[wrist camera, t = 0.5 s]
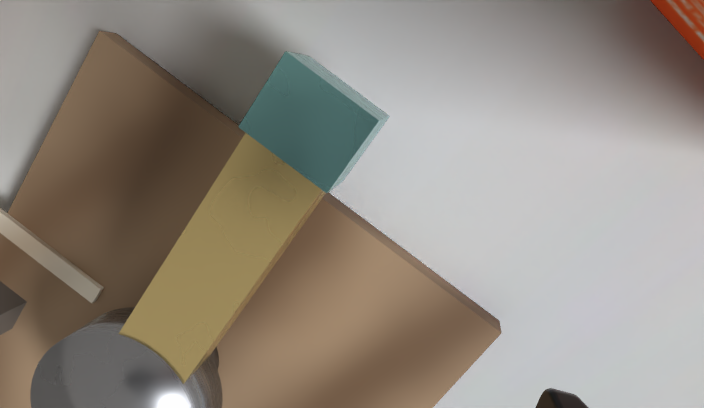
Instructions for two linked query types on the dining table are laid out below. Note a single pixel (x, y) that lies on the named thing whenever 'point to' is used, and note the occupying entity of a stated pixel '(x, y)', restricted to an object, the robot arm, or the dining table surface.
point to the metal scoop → (218, 251)
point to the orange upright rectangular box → (685, 20)
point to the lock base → (167, 226)
